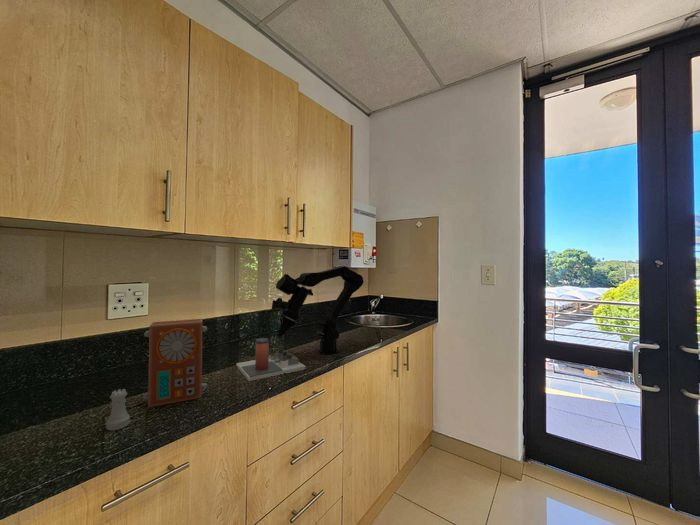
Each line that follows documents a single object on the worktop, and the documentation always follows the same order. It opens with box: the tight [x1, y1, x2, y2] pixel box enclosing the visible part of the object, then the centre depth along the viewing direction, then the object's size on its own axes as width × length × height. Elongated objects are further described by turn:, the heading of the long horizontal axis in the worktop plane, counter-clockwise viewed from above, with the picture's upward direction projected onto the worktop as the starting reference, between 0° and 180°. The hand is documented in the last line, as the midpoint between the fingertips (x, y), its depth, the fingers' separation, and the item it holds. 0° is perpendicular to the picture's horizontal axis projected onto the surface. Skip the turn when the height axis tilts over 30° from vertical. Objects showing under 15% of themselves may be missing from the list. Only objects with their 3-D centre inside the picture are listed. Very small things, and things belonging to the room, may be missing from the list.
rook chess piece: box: [105, 388, 131, 432], centre depth 66 cm, size 4×4×8 cm
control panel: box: [142, 318, 208, 408], centre depth 81 cm, size 21×7×15 cm
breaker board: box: [235, 348, 306, 382], centre depth 106 cm, size 20×17×5 cm
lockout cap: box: [254, 337, 270, 370], centre depth 101 cm, size 4×4×10 cm
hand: (278, 336), depth 112 cm, fingers open, 9 cm apart
